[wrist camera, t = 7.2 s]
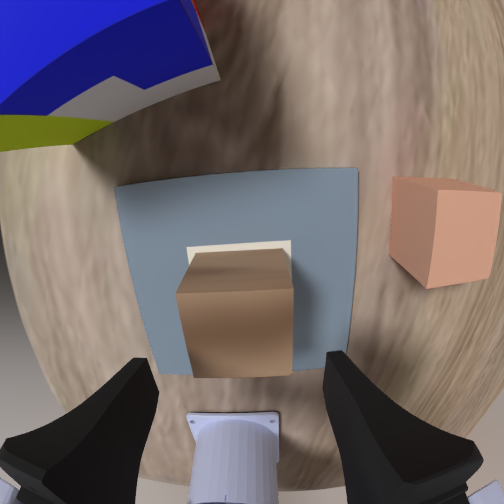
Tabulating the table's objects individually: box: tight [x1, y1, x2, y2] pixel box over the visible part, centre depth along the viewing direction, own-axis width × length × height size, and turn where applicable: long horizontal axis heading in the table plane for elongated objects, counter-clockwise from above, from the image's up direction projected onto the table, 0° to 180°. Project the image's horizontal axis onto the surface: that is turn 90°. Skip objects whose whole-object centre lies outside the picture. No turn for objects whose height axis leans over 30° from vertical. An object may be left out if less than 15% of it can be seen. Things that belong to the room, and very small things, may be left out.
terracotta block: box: [389, 177, 502, 289], centre depth 14 cm, size 5×5×5 cm
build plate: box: [114, 168, 358, 375], centre depth 18 cm, size 14×14×1 cm
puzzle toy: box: [0, 0, 221, 152], centre depth 8 cm, size 10×10×10 cm
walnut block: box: [175, 248, 294, 378], centre depth 15 cm, size 5×5×5 cm
